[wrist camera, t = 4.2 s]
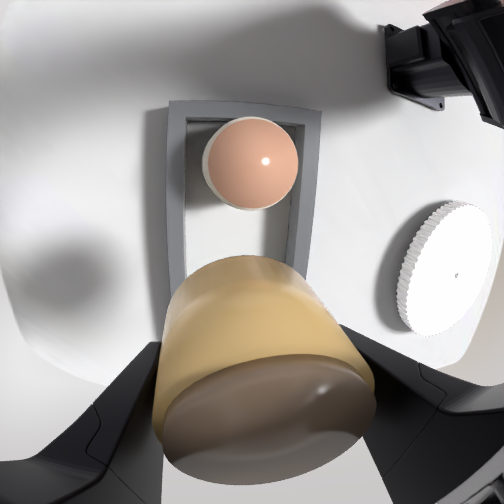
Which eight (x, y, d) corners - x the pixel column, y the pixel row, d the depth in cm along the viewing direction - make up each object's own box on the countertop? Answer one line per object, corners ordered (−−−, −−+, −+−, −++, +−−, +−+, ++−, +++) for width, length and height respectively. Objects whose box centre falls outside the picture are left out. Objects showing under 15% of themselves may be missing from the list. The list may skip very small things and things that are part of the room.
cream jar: (273, 121, 17) (295, 112, 13) (282, 195, 18) (306, 204, 15) (196, 131, 16) (197, 122, 12) (208, 207, 18) (212, 220, 14)
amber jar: (307, 370, 11) (352, 464, 7) (178, 384, 10) (178, 492, 6) (323, 250, 9) (417, 337, 5) (154, 260, 8) (114, 376, 4)
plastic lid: (371, 327, 25) (384, 342, 22) (414, 183, 20) (434, 188, 18) (450, 320, 28) (463, 330, 25) (487, 213, 23) (502, 219, 21)
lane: (310, 114, 17) (329, 109, 14) (286, 343, 23) (297, 366, 20) (172, 106, 15) (166, 96, 12) (179, 348, 21) (178, 374, 18)
